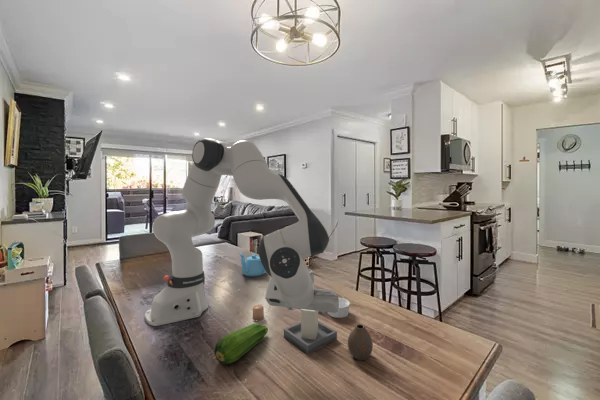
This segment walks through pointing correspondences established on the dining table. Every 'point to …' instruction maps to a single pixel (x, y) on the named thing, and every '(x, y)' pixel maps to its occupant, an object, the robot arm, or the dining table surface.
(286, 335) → the tray
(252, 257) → the teapot
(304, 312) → the cream block
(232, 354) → the vegetable
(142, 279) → the dining table surface
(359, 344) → the vase
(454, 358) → the dining table surface
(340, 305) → the ramekin
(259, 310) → the tan small cylinder
